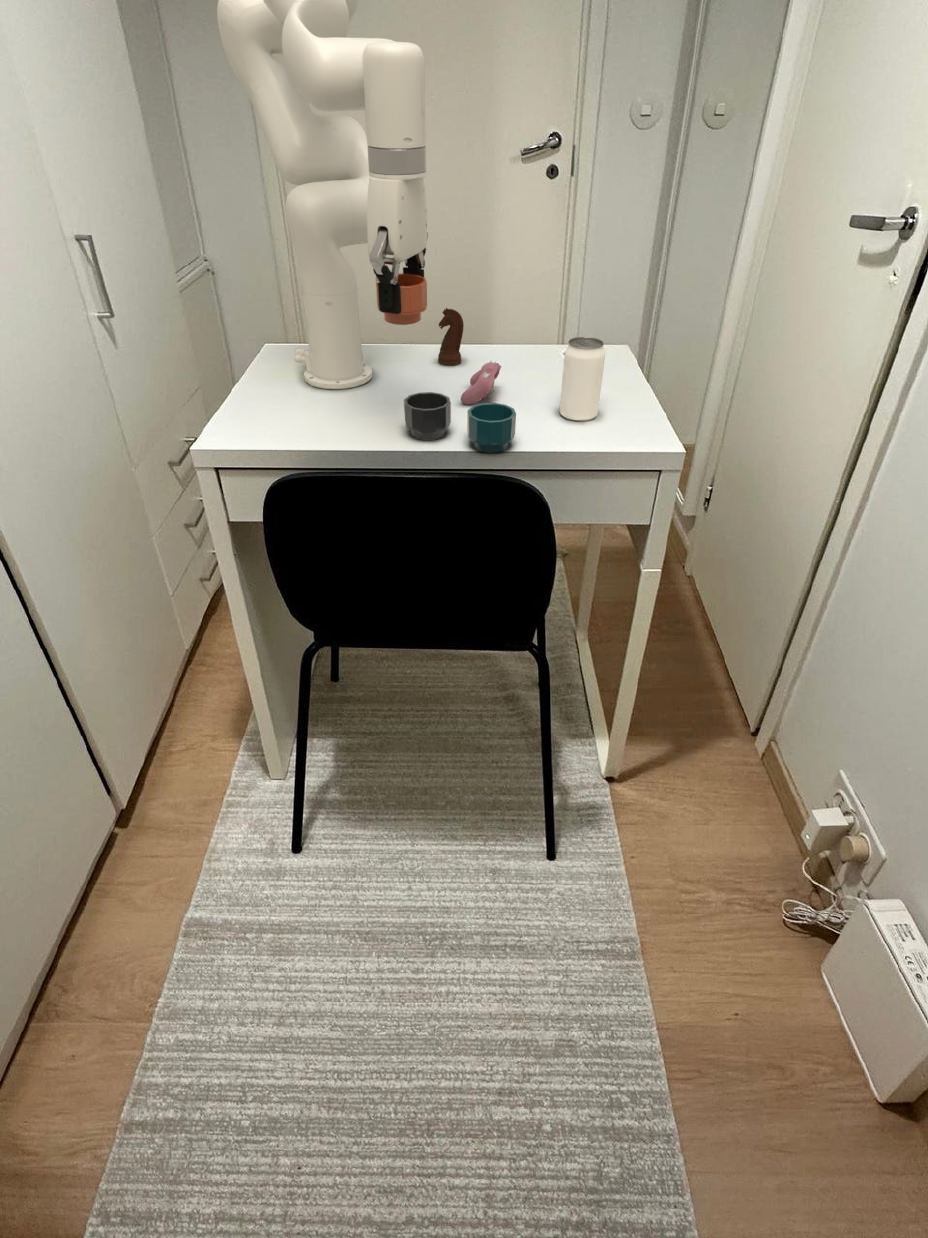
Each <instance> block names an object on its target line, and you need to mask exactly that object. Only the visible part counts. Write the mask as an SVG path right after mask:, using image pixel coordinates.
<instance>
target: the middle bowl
mask: <svg viewBox="0 0 928 1238" xmlns="http://www.w3.org/2000/svg"><path fill="white" fill-rule="evenodd" d="M397 283H400V292H401V313H399V314H393V313H386V312H381V311H380V309H379V294H378V283H377V282H376V281H375V291H376V292H375V294H376V307H377V310H378V311H379V312H380V313H383V320H384V322H385V323H388V324H391V325H397V326H408V325H414V324H417V323H419V322H420V321H421V320H422V313H423V312H425V311H426V310H427V308H428V281H427V279H426V277H425V276H424V277H422V276H419V275H415V274H407V273H403V272H402V273H400V272H399V274H398V280H397Z"/></svg>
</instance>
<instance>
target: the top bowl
mask: <svg viewBox="0 0 928 1238" xmlns="http://www.w3.org/2000/svg"><path fill="white" fill-rule="evenodd" d="M466 416H467V417H466V420H467V424H466V425H467V427H466V428H467V431H466V432H467V437H468V439H469V441H471V442H472V443H473V448H474V449H476V450H477V451H479V452H483V453H489V454H490V453H492V454H493V453H494V454H495V453H501V452H503V451H505V450H506V449H508V447H509V443H510V442H512V441H513V440H514V439H515V435H516V428H517V427H516V426H517V425H516V424H517V423H516V422H517V412H516V410H515V408H513V407H511V406H509V405H507V404H504V403H498V402H483V403H478V404H476V405H472V406H471V407H470V408H469V409H467V415H466Z"/></svg>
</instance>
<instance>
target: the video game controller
mask: <svg viewBox="0 0 928 1238" xmlns="http://www.w3.org/2000/svg"><path fill="white" fill-rule="evenodd" d="M501 369H502V365H501V364H499V363H498V362H497V361H494V362H493V361H492V360H491V359H490V360H489V362H487V363H484V364H483V365H482V367H481V368H480V369H479V370H478V371H476V372H475V373H473V375H472V376H471V377H470V378H469V383H470V385H471V386H470V387H468V388H467V389H466V390H465V391H464V392H462V394H461V396H460V402H461V403H462V404H463V405H473V404H475V403H478V402H479V401H484V400H485V399H486V397H487V395H488V394H489V393H490V392H491V393H494V392H495V390H496V387H497V386H496V385H495V380H497V378H498V376H499V375H500V371H501Z"/></svg>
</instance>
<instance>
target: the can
mask: <svg viewBox="0 0 928 1238" xmlns="http://www.w3.org/2000/svg"><path fill="white" fill-rule="evenodd" d="M604 344H605V342H604V341H603V340H602V339H600V338H596V337H592V336H577V337H576V336H575V337H572V338H569V340H568V344H567V346H566V348H565V350H564V355H563V356H564V358H563V365H562V366H563V369H562V378H561V390H560V400H559V402H560V403H559V414H560V415H561V417H562V418H564V419H566V420H569V421H573V422H589V421H591V420H593V419H595V418H596V417H597V416H598V413H599V407H600V400H601V392H602V385H603V384H602V383H603V376H604V367H605V359H606V350H605V348H604Z"/></svg>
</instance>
